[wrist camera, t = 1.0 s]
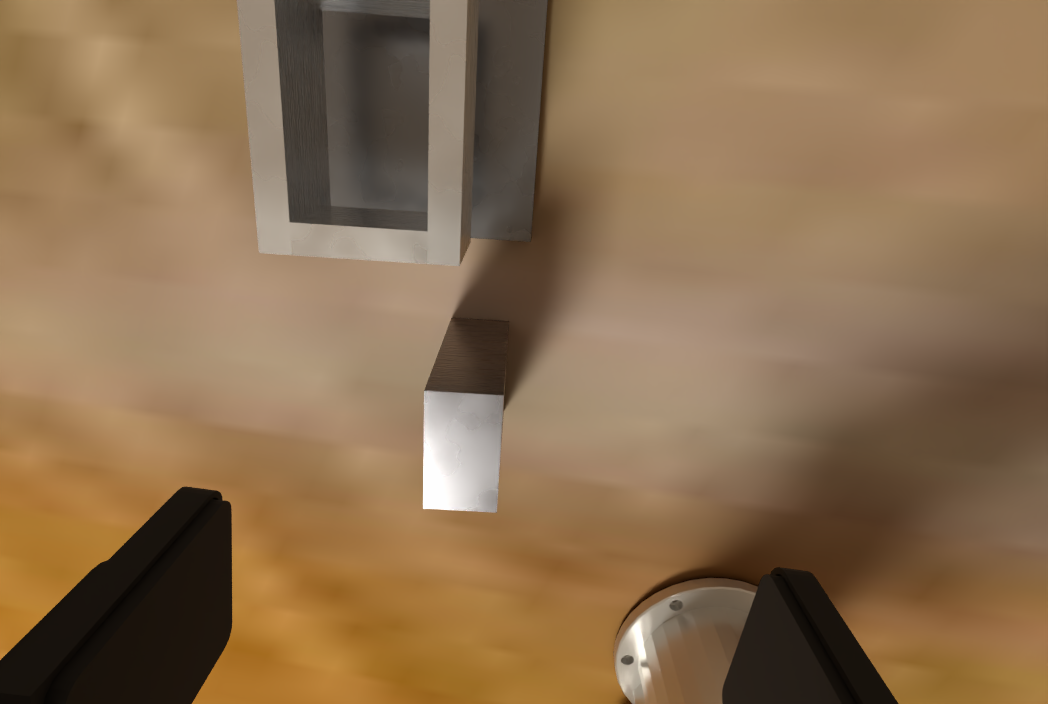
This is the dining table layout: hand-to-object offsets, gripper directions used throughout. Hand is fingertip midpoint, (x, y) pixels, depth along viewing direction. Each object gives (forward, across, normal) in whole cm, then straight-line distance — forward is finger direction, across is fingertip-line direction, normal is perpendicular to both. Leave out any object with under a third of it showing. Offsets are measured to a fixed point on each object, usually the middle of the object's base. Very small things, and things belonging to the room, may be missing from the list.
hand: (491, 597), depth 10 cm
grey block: (+24, +1, +5) cm, 24 cm away
